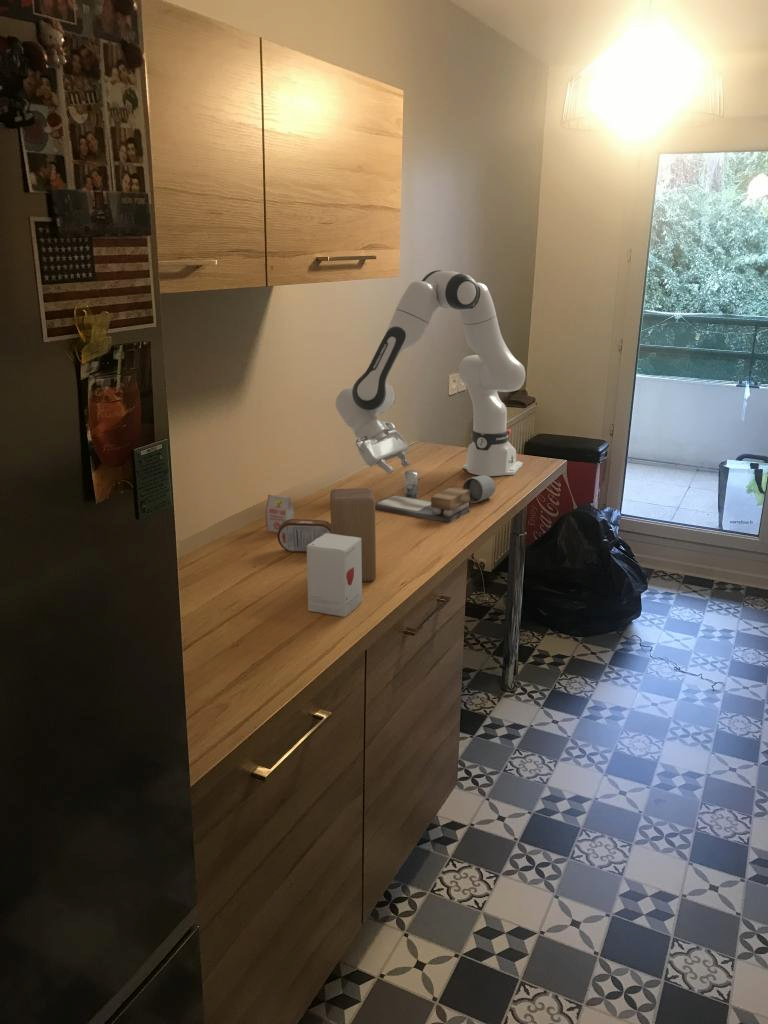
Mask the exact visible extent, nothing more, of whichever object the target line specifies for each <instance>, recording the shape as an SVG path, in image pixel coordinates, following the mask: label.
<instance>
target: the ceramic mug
mask: <svg viewBox="0 0 768 1024" xmlns="http://www.w3.org/2000/svg"><path fill="white" fill-rule="evenodd" d="M461 488H462V489H468V490H470V500H468V502H469V503H471V504H477V503H480V502H482V501H485V500H487V499H489V498H490V497H493V495H494V494H495V492H496V483H495V481H494V479H493V478H492V476H486V475H476V476H473V477H469V478H468V477H467V479H465V480H464V482H463V483H462V487H461Z"/></svg>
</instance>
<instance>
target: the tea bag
mask: <svg viewBox="0 0 768 1024" xmlns="http://www.w3.org/2000/svg"><path fill="white" fill-rule="evenodd" d="M266 502H267V503H266V506H265V528H266V532H267V531H268V533H272V532H273V534H278V531H279V528H280V526H281V524H282V523H283V522H285V521H287V520H289V519H295V510H294V506H293V504H292V502H291V498H290V497H288V496H283V495H282V496H281V495H276V494H275V495H274V494H268V495H267V501H266Z"/></svg>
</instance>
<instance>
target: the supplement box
mask: <svg viewBox="0 0 768 1024" xmlns="http://www.w3.org/2000/svg"><path fill="white" fill-rule="evenodd" d="M306 567H307V569H306V571H307V574H306V576H307V603H308V606H307V607H308V609H307V610H308V611H309V612H315V613H320V614H325V615H331V616H336V617H342V618H346V617H347V616H349V614H351V613H352V612H353V611H354V610H355V609H356V608H357V607H358V606H360V603H361V604H362V603H363V581H362V554H361V538H358V537H352V536H343V535H337V534H330V533H325V534H324V535H322V536H321V537H319V538H317V539H315V540H314V541H313V542H312V543H310V544H308V545H307V553H306Z"/></svg>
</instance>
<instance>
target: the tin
mask: <svg viewBox="0 0 768 1024" xmlns="http://www.w3.org/2000/svg"><path fill="white" fill-rule="evenodd" d="M325 533H330V534H331V522H329V521H327V520H324V519H307V518H305V519H303V518H294V519H289V520H287V521H285V522H283V523H282V524H281V526H280V528H279V531H278V533H276V534H277V535H276V536H277V537H276V538H277V542H278V544H279V545H280V546H281V548H282V549H283V550H284V551H287V552H290V553H306V554H307V545H308V544H310V543H312V542H313V541H314V540H315V539H317V538H319V537H321V536H322V535H324V534H325Z"/></svg>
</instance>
